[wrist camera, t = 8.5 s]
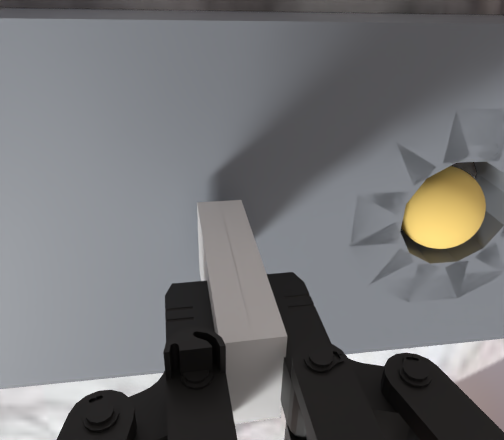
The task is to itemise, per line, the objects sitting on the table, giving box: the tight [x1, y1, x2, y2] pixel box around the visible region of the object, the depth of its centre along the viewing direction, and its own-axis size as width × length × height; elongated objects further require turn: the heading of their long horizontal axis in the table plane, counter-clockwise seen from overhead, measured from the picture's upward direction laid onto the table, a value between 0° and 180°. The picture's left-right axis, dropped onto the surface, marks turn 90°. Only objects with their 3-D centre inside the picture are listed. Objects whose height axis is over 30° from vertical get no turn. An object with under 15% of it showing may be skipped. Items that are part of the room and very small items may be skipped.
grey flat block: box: [0, 8, 504, 389], centre depth 18 cm, size 28×14×2 cm, turn 88°
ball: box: [401, 166, 486, 249], centre depth 19 cm, size 3×3×3 cm
